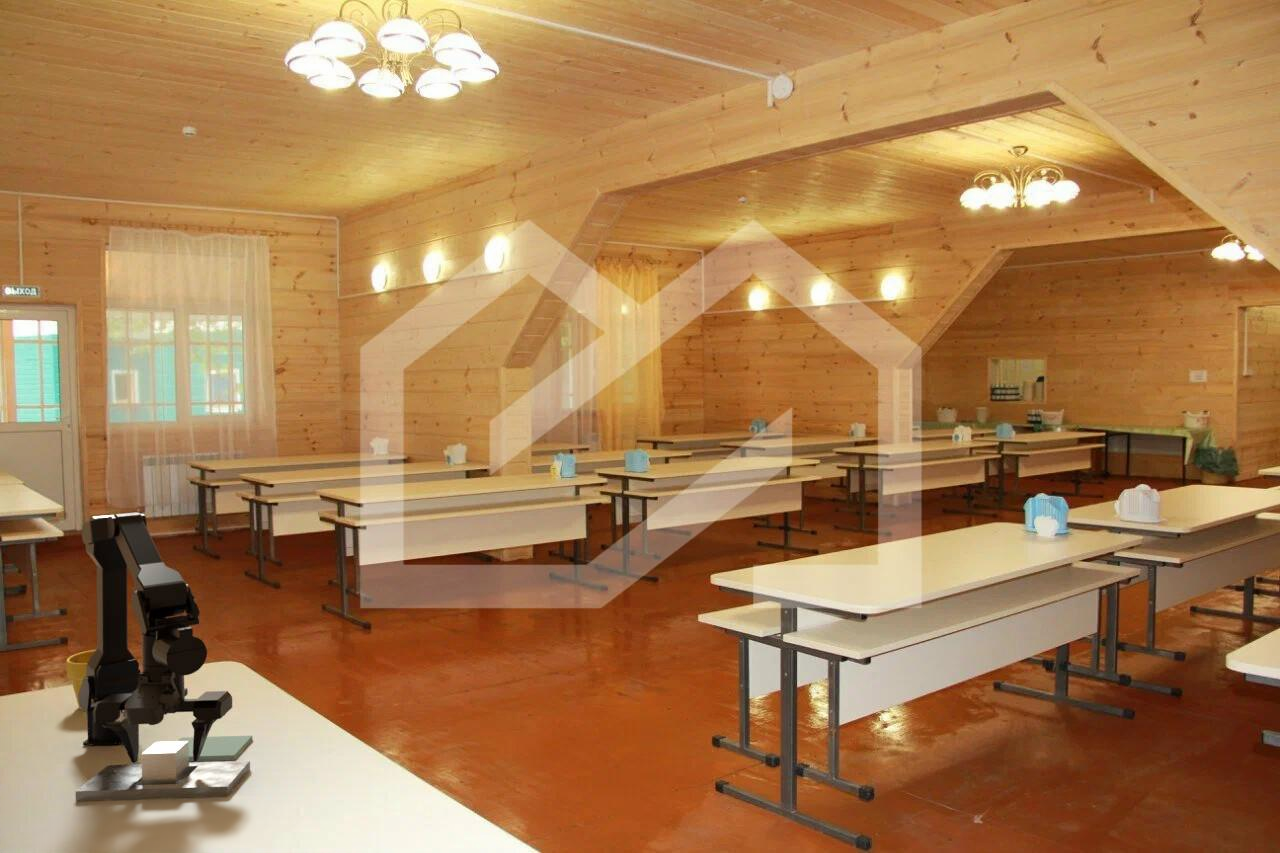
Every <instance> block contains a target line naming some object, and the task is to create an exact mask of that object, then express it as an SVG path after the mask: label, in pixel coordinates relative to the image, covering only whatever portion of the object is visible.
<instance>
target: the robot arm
mask: <svg viewBox="0 0 1280 853" xmlns="http://www.w3.org/2000/svg"><path fill="white" fill-rule="evenodd" d="M147 526H148V524H147V517H146V515H145V514H144V513H140V512H139V511H135V512H124V513H115V514H109V515H108V514H107V515H98V516H97V515H95V516H90V517H89V519H88V521H87V522H85V523H83V524H82V526H81V538H82V543H83V544H84V545H85V552H86V554H87V555H88V556H89V557H90V559H92V561H93V562H94V564H95V565H96V630H97V631H96V636H97V637H96V639H97V640H96V642H97V645H96V649H95V650H96V651H95V652H94V654H93V655H92V657H91V658H90V660H89V662H88V663H87V671H86V677H84V679H83V682H82V685H81V688H80V690H79V693H78V699H79V706H80V707H81V708H82V709H83V710H82V711H84V712H85V713H86V717H87V718H86V720H87V722H86V724H87V725H86V726H87V739H85V740H84V741H83V742H82V745H83V746H104V745H105V746H107V745H111V746H112V745H121V744H122V745H123V746H124V750H125V751H126V753H127V755H128V757H129V760H130V762H131V764H137V762H138V760H139V754H140V753H139V752H140V750H139V749H140V746H139V745H140V742H139V741H140V735H139V734H140V731H139V730H140V726H139V725H149V726H156V725H159V724H160V723H162V722H163V720H164V717H165V716H166V715H168V714H175V713H192V716H193V717H195V719H194V720H193V721H191V726H192V728H193V737H194V741H193V759H194V761H193V762H198V761H197V760H198V759H199V757H200V754H201V752H202V749H203V746H204V744H205V741H206V738H207V737H209V733H210V731H211V728H212V726H213V725H214V723H215V722H216V721H217V720H220V719H222V718H223V717H224V716H225V715H226V714H228V712H229V711H231V710H232V708H233V697H232V694H231V693H230V692H229V691H228V690H223V691H222V690H220V691H219V690H217V691H216V690H215V691H204V693H202V694H201V695H200V696H199V697H198V698H186V696H188V694H189V693H188V687H185V676H190V675H192V674H194V673H196V672H198V671H199V670H200V669H201V668H202V666H203V665H204V664H205V662H206V660H207V657H208V656H207V655H208V649H207V646H206V644H205V642H204V641H203V640H202V639H200V638H199V637H197V636H195V635H194V633H193V632H194V630H193V627H191V626H195V625H200V619H199V616H200V613H201V612H200V610H199V607H198V604H197V602H196V599H195V595H194V594H193V591H192V590H191V587H190V585H189V584H188V583H186V581H185V580H184V578H183V577H182V575H181V573H180V572H179V571H177V570H175V569H173V568H170V567H169V566H167V565H166V564H165V563H164V561H163V558H162V556H161V554H160V552H159V551H158V548H157V546H156V545H155V544H156V543H155V542H154V540H153V537H152V536H151V533H150V532H149V530H148V528H147ZM128 570H129V573H130V576H131V577H132V579H133V581H134V587H133V592H132V594H131V609H132V612H133V613H134V616H135V619H136V622H137V624H138V626H139V628H140V630H141V650H142V651H141V654H142V655H141V656H142V658H141V659H142V661H141V662H142V664H141V665H142V671H141V669H140V663H139V662H138V660H137V659H136V658H135V656H134V655H133V654H132V653H131V651H130V650H129V649H128V647H129V646H128V645H129V644H128ZM184 613H186V614H184ZM79 706H78V707H79Z"/></svg>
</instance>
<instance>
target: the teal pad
mask: <svg viewBox="0 0 1280 853" xmlns="http://www.w3.org/2000/svg"><path fill="white" fill-rule="evenodd" d="M177 741H189V762H195V761H194V759H193V741H194V736H193V737H192V736H191V737H190V736H189V737H186V736H185V737H180V738H179V739H178V740H177ZM252 741H253V735H229V736H228V735H227V736H225V735H224V736H223V735H222V736H221V735H220V736H207V738H206V741H205V744H204V746H203V749H202V752H201V754H200V757H199V759H198V760H197V761H196V762H217V761H236V759H237V758H238V757H239V756H240V754H241V753H242V752H243V751H244V750H245V749H246V748H247V746H248V745H249V744H250V743H251V742H252Z"/></svg>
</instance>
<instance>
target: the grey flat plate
mask: <svg viewBox="0 0 1280 853" xmlns="http://www.w3.org/2000/svg"><path fill="white" fill-rule="evenodd" d="M250 771H251V760H225V761H192V762H189V776H188V777H187V778H186V779H185V780H184V781H183V782H182V783H181V784H164V785H142V763H138V764H137V763H128V764H107V765H106V766H105V767H104V768H102V769H101V770H100V771H99V772H97V773H96V774H94V776H92V777H91V778H90V779H89V780H88V781H87V782H85V783H84V784H83V785H81V786H80V787H79V788H78V789H76V790H75V802H89V801H90V802H93V801H94V802H96V801H119V800H120V801H126V800H127V801H128V800H152V799H155V800H156V799H158V800H159V799H179V798H180V799H184V798H185V799H186V798H189V799H190V798H217V797H219V798H220V797H229V796H230V794H232V793H233V790H234V789H236V787H238V785H239V783H240V782H242V780H243V779H244V778H245V777H246V775H248V773H249V772H250Z"/></svg>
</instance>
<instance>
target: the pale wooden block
mask: <svg viewBox="0 0 1280 853" xmlns="http://www.w3.org/2000/svg"><path fill="white" fill-rule="evenodd" d="M140 758H141V764H142V785H164V784H181V783H182V782H183V781H184V780H185V779H186V778H187V777H188V776H189V763H190V761H189V741H178V740H174V741H173V740H172V741H155V742H154V743H152V745H151V744H150V746H149V747H148V748H147V749H146V750H144V751H142V753H141V756H140Z"/></svg>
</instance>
